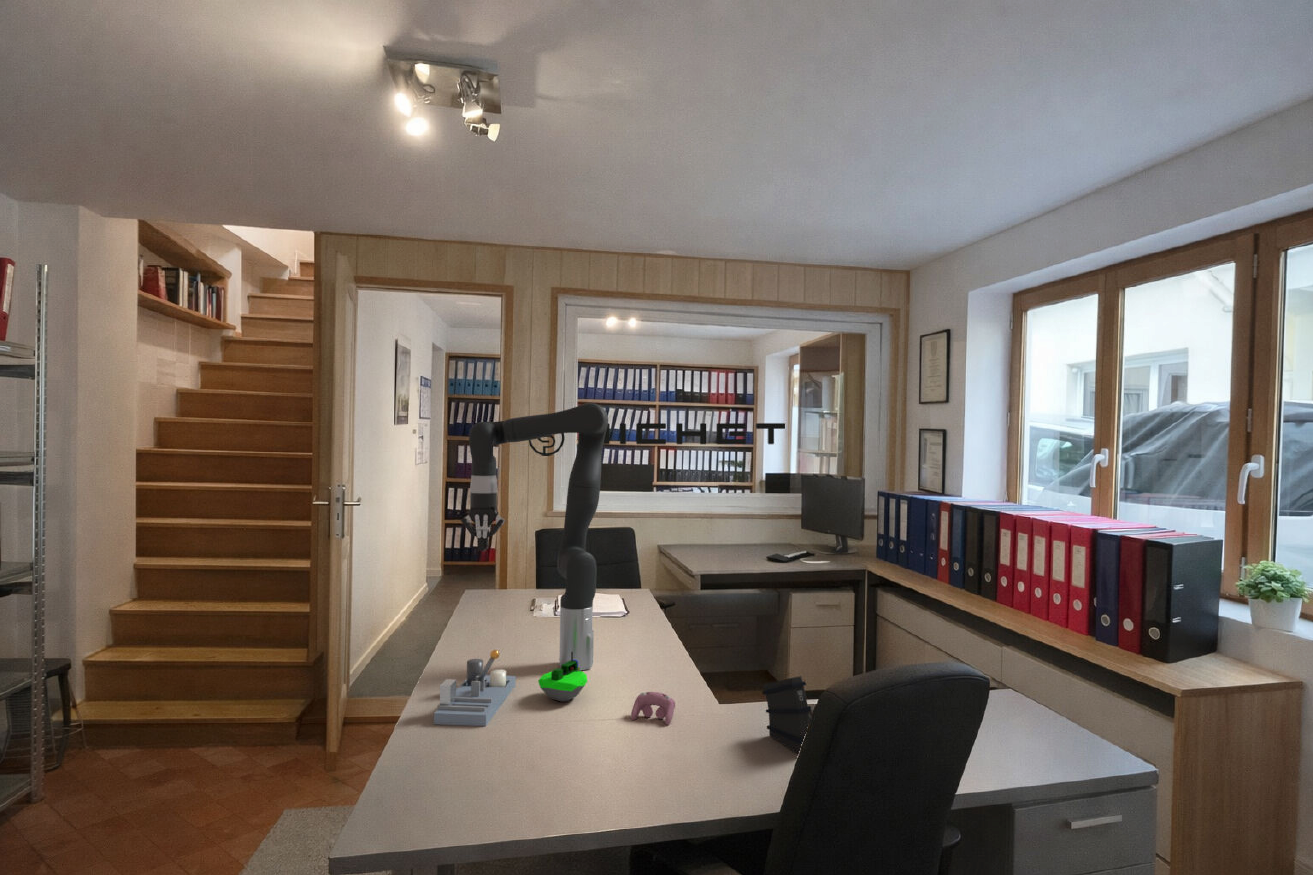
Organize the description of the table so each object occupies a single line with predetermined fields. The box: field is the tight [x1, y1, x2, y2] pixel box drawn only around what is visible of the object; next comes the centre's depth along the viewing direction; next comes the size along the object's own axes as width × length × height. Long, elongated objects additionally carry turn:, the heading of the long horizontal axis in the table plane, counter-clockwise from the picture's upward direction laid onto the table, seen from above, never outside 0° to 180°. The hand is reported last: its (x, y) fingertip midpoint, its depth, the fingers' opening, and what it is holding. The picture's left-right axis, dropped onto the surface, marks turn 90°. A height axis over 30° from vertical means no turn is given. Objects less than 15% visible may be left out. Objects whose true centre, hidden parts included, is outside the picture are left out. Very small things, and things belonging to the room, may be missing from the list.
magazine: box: [761, 676, 812, 754], centre depth 153 cm, size 4×13×15 cm, turn 28°
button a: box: [489, 669, 507, 687], centre depth 180 cm, size 4×4×5 cm
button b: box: [466, 658, 484, 684], centre depth 180 cm, size 4×4×5 cm
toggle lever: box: [476, 649, 500, 685], centre depth 173 cm, size 2×2×10 cm
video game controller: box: [630, 691, 676, 726], centre depth 166 cm, size 10×5×7 cm, turn 72°
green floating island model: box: [537, 652, 588, 703], centre depth 177 cm, size 12×12×11 cm
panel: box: [433, 674, 517, 727], centre depth 173 cm, size 12×26×6 cm, turn 177°
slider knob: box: [439, 678, 457, 706], centre depth 165 cm, size 2×4×5 cm, turn 177°
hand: (482, 550), depth 205 cm, fingers closed
